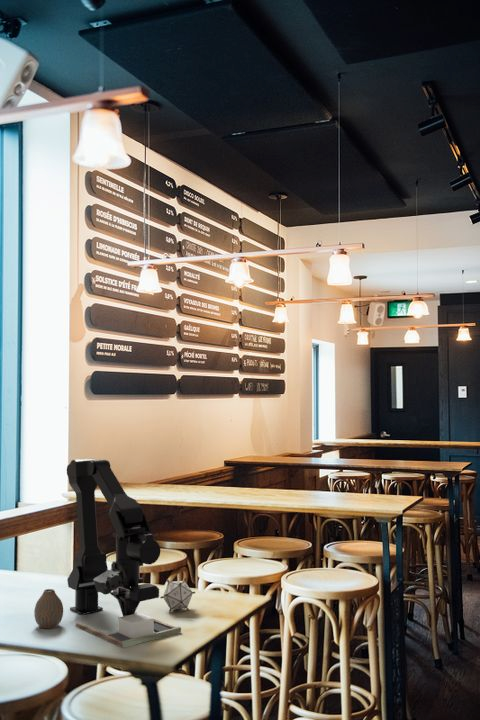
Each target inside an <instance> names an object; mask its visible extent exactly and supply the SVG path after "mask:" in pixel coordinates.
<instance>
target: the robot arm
mask: <svg viewBox="0 0 480 720" xmlns="http://www.w3.org/2000/svg"><path fill="white" fill-rule="evenodd" d="M66 475H67V478H68V479H67V480H68V484H69V486H70V487H71V489H72V490H73V492H74V493H75V501H76V515H77V529H78V531H77V533H78V547H79V549H78V551H77V552H76V555H75V557H74V559H73V568H72V569H71V572H70V574H69V575H68V577H67V587H68V588H70V589H71V590H74V591H75V592H74V593H75V596H74V597H75V599H74V606H71V607H70V608H69V610H70V611H73V612H75V613H78V614H79V615H86V614H90V613H96V612H99V611H103V610H104V607H103V606H99V593H100V594H103V595H109V594H110V595H111V596H113V597H114V598H115V599H116V600H117V602H118V604H119V607H120V610H121V615H122V617H123V616H128V615H132V614H134V613H135V612H137V609H138V606H139V605H140V603H141V602H144V601H148V600H154V599H159V598H160V588H159V587H158V586H157V585H155V584H152V583H150V582H148V583H144V578H143V577H140V574H141V573H140V569H141V568H140V567H143V566H144V565H153V564H155V563H156V562H157V561H158V560H159V558H160V555H161V551H162V550H161V547H160V544H159V542H157V541H156V540H154V535H153V534H152V530H151V529H152V528H151V525H150V522H149V520H148V519H147V516H146V512H145V511H144V509H143V507H142V506H141V504H140V503H139V502H138V501H137V500H136V499H134V498H132V497H130V496H129V495H127V493H126V492H125V490H124V487H123V486H122V484H121V483H120V482H119V479H118V478H117V476H116V475H115V472H114V470H112V468H111V463H110V461H109V460H107V459H104V458H103V459H95V458H85V459H84V458H83V459H80V458H79V459H72V460H70V462H69V464H67V466H66ZM97 487H98V488H99V490H100V492H101V494H102V495H103V497H104V498H105V501H106V502H107V504H108V506H109V514H108V517H109V519H110V521H111V522H110V523H111V524H112V526H113V528H114V530H115V531H114V532H113V533H112V537H113V538H115V561H112V563H111V568H110V569H109V568H108V565H107V564H108V563H107V554H106V553H105V552H102V550H101V549H100V547H99V540H98V525H97V524H98V523H97V522H98V521H97V511H96V510H97V508H96V494H95V491H96V490H97ZM108 569H109V570H108Z"/></svg>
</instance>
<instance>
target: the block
mask: <svg viewBox="0 0 480 720" xmlns="http://www.w3.org/2000/svg"><path fill="white" fill-rule="evenodd" d="M117 619H118V625H117V629H118V630H117V631H118V633H120V634H122V635H125V636H127V637H129V638H136V637H140V636H144V635H148V634H152V633H155V631H154V619H155V618H154V617H153V616H148V615H146V614H144V613H141V612H137V614H132V615H128V616H123V615H122V616H120V617H118V618H117Z"/></svg>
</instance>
